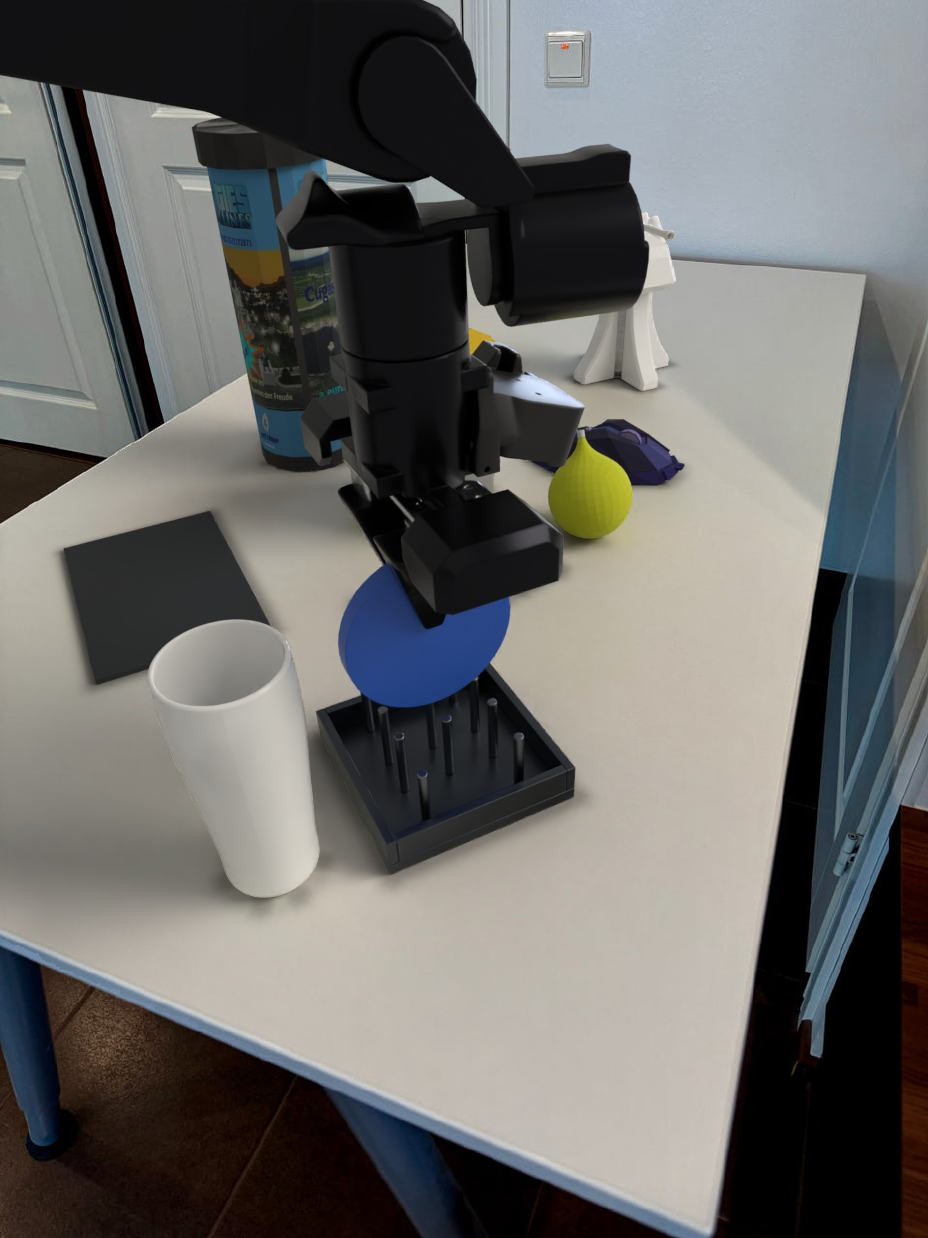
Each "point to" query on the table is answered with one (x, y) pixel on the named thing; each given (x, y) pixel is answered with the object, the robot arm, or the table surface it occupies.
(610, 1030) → the table surface
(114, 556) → the mat
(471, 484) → the robot arm
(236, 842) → the drinking glass
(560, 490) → the green fig
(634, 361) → the toy gun turret
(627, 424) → the computer mouse
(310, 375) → the advertising column
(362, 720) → the rack
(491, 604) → the plate
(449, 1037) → the table surface
